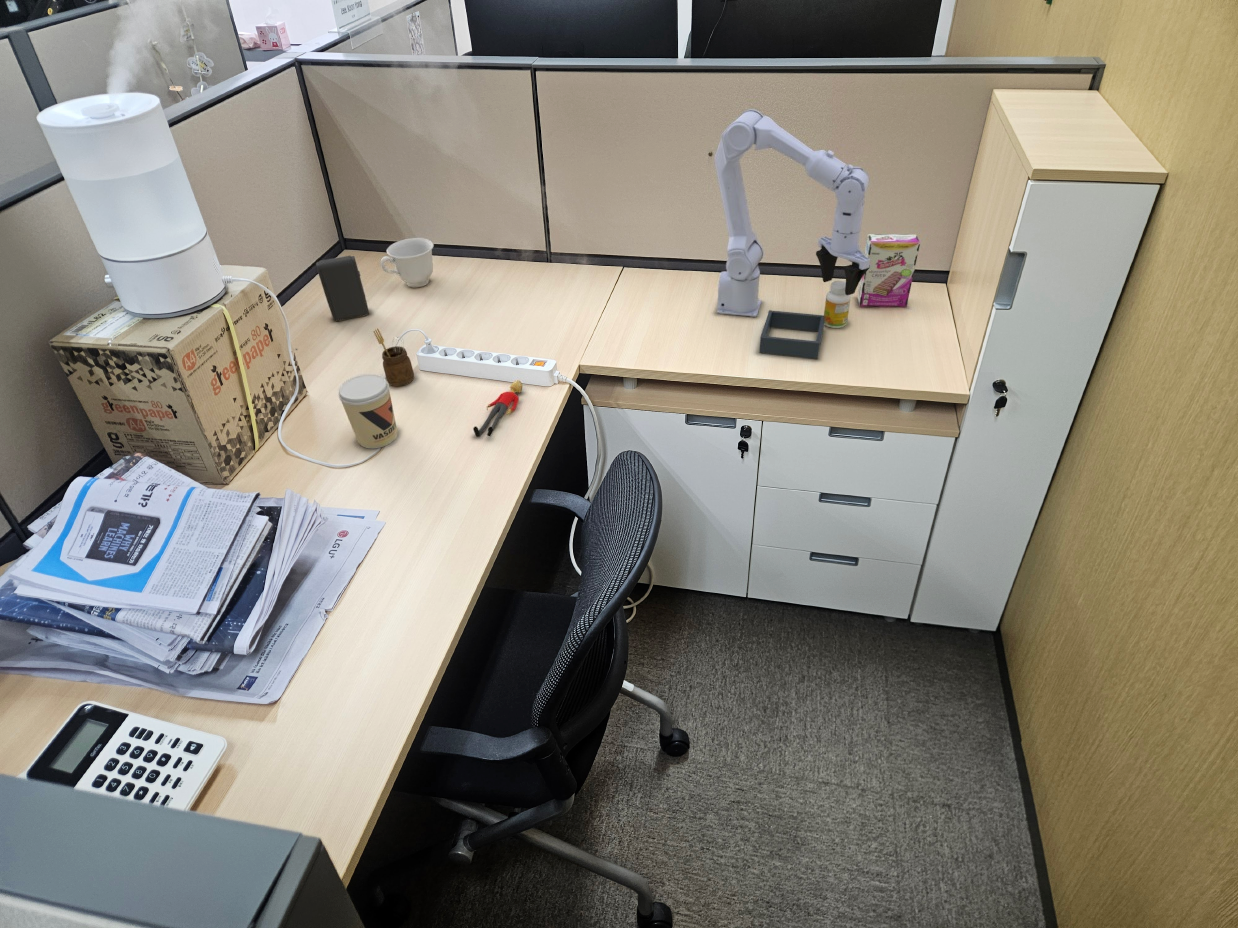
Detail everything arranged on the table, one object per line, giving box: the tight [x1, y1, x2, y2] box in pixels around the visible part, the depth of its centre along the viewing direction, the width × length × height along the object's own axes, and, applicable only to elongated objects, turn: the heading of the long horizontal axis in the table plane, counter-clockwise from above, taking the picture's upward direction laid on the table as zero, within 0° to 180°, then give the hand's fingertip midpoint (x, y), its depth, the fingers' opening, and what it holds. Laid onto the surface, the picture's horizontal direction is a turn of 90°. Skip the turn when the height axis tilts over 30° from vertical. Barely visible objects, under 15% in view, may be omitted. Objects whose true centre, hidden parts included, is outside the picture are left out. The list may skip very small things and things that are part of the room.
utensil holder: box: [373, 327, 415, 387], centre depth 169 cm, size 6×6×12 cm
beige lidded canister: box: [338, 373, 398, 449], centre depth 153 cm, size 9×9×12 cm
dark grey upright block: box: [315, 255, 370, 322], centre depth 193 cm, size 9×4×15 cm, turn 108°
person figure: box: [472, 379, 523, 438], centre depth 160 cm, size 5×4×18 cm
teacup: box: [380, 237, 435, 288], centre depth 207 cm, size 12×15×10 cm
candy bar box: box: [856, 233, 921, 308], centre depth 184 cm, size 11×5×16 cm, turn 84°
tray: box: [758, 309, 825, 360], centre depth 176 cm, size 13×13×4 cm
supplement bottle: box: [823, 280, 852, 329], centre depth 180 cm, size 5×5×10 cm
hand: (838, 287), depth 178 cm, fingers open, 7 cm apart
